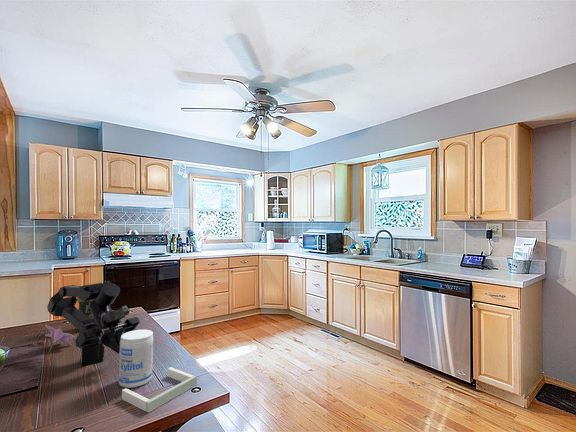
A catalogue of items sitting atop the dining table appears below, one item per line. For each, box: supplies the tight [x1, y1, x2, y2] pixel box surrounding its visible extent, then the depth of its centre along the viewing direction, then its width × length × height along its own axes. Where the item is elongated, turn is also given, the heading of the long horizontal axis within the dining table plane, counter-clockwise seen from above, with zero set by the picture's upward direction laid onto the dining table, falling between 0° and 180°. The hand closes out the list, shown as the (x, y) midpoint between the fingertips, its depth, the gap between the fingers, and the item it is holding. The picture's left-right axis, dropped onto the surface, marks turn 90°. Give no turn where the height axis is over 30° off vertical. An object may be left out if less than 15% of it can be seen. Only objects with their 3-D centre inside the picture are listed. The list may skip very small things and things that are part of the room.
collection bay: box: [121, 366, 198, 413], centre depth 91 cm, size 12×16×2 cm
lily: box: [44, 324, 77, 353], centre depth 122 cm, size 12×12×10 cm
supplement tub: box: [118, 329, 154, 389], centre depth 97 cm, size 10×10×15 cm
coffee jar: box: [75, 297, 94, 332], centre depth 146 cm, size 10×8×19 cm
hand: (119, 352), depth 102 cm, fingers closed
